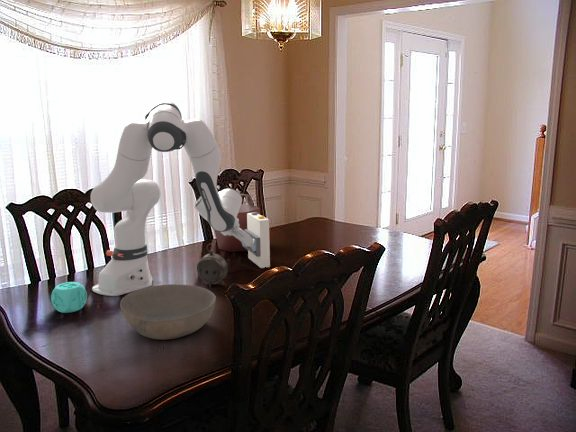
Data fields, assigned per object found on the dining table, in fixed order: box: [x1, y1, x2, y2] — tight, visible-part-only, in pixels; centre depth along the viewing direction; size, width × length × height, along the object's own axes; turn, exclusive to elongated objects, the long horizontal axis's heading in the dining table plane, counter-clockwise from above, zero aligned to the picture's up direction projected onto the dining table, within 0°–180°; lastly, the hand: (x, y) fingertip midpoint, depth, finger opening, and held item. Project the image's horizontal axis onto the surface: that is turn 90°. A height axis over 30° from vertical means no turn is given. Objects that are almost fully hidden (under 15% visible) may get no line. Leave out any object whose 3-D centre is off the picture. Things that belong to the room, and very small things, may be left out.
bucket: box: [213, 193, 261, 253], centre depth 245 cm, size 24×22×25 cm
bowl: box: [119, 283, 217, 341], centre depth 156 cm, size 28×28×10 cm
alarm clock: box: [196, 243, 229, 288], centre depth 193 cm, size 11×5×16 cm, turn 74°
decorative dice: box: [50, 281, 88, 314], centre depth 174 cm, size 8×8×8 cm
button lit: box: [252, 239, 256, 251], centre depth 216 cm, size 2×5×5 cm, turn 23°
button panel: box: [244, 212, 271, 269], centre depth 220 cm, size 6×16×21 cm, turn 23°
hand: (251, 245), depth 215 cm, fingers closed, pressing on button lit
